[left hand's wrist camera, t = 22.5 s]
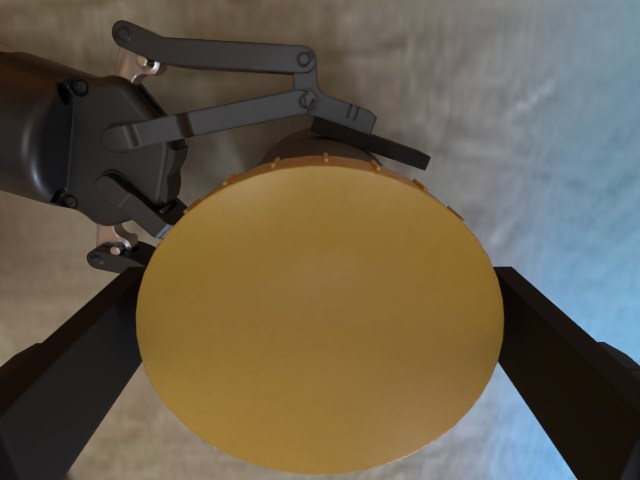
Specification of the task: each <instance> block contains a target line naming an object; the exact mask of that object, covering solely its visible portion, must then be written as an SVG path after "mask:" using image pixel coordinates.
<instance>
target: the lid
mask: <svg viewBox="0 0 640 480" xmlns="http://www.w3.org/2000/svg"><path fill="white" fill-rule="evenodd" d="M427 190H428V189H427V188H426V187H425V186H424V185H422V184H421V183H420V182H419V181H418V180H416V179H415V178H414V179H413V181H412V180H410V179H409V178H407V177H405V176H403V175H401V174H399V173H397V172H394V171H392V170H390V169H388V168H385V167H383V166H380V165H378V164H377V163H376V161H374V160H371V163H369V162H366V161H363V160H358V159H352V158H345V157H339V156H328V153H324V156H303V157H295V158H286V159H282V160H280V157H277V158H275V160H274V161H273V162H270V163H266V164H263V165H260V166H258V167H255V168H253V169H250V170H248V171H245V172H243V173H240V174H239V175H236V173H234V174H232V175H231V176H230V177H229V178H228V179H226V180H225V181H224V182H223V184H221V185H220V186H218V187H217V188H216V189H215V190H213V191H212V192H211V193H210V194H208V195H207V196H206V197H205V198H203V199H202V200H200V199H198V200H197V201H195V202H194V203H193V204H192V205H191V206H189V207H188V208H187V209H186V210H185V211H184V213H185V215H184V216H183V217H182V218H181V219H180V220H179V221H178V222H177V223H176V224H175V225H174V226H173V227H172V228H171V229H170V230H169V231H168V233H167V234H166V235H165V237H164V238H163V240H162V241H161V242H160V243H159V244H158V245H157V247H156V250H155V251H154V253H153V255H152V257H151V259H150V262H149V264H148V266H147V268H146V270H145V272H144V275H143V279H142V282H141V286H140V289H139V293H138V300H137V308H136V335H137V340H138V346H139V351H140V355H141V358H142V361H143V364H144V367H145V369H146V372H147V375H148V376H149V378H150V380H151V382H152V384H153V386H154V388H155V390H156V391H157V393H158V394H159V396H160V397H161V398H162V400H163V401H164V403H165V404H166V405H167V407H168V408H169V409H170V410H171V411H172V412H173V413H174V415H175V416H176V417H177V418H178V419H179V420H180V421H181V422H182V423H183V424H184V425H186V426H187V427H188V428H189V429H190V430H191V431H193V432H194V433H195V434H196V435H198V436H199V437H201V438H202V439H204V440H205V441H206V442H208V443H209V444H211V445H212V446H214V447H216V448H218V449H220V450H222V451H224V452H226V453H227V454H229V455H231V456H234V457H236V458H239V459H241V460H244V461H246V462H249V463H252V464H255V465H259V466H262V467H265V468H269V469H274V470H279V471H284V472H291V473H301V474H339V473H349V472H355V471H361V470H367V469H370V468H374V467H378V466H381V465H385V464H388V463H391V462H393V461H396V460H399V459H401V458H404V457H406V456H408V455H410V454H412V453H414V452H416V451H418V450H420V449H422V448H424V447H426V446H427V445H429V444H430V443H432V442H433V441H435V440H437V439H438V438H440V437H441V436H442V435H443V434H445V433H446V432H447V431H448V430H450V429H451V428H452V427H453V426H455V425H456V424H457V423H458V422H459V421H460V420H461V419H462V418H463V417H464V416H465V415H466V414H467V413H468V411H469V410H470V409H471V408H472V406H473V405H474V404H475V402H476V401H477V400H478V399H479V397H480V396H481V394H482V393H483V391H484V389H485V387H486V386H487V384H488V382H489V380H490V379H491V376H492V374H493V371H494V369H495V366H496V364H497V361H498V358H499V354H500V350H501V345H502V341H503V330H504V310H503V298H502V294H501V290H500V286H499V282H498V278H497V276H496V273H495V271H494V269H493V266H492V264H491V261H490V259H489V257H488V255H487V254H486V252H485V251H484V249H483V247H482V246H481V244H480V243H479V241H478V239H477V238H476V237H475V236H474V234H473V233H472V232H471V231H470V230H469V229H468V227H467V226H466V225H465V224H464V223H463V221H464V219H463V218H462V217H461V216H460V215H459V214H457V213H456V212H455V211H454V210H453V209H451V208H450V207H449V206H448V207H446V206H444V205H443V204H442V203H441V202H440V201H439V200H437V199H436V198H435V197H434V196H433V195H432V194H430V193H429V192H428V191H427Z"/></svg>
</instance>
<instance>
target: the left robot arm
mask: <svg viewBox="0 0 640 480" xmlns="http://www.w3.org/2000/svg"><path fill="white" fill-rule="evenodd" d="M146 268H147V267H128V268H126V269H125V270H124V271H123V272H122V273H121V274H120V275H119V276H117V277H116V278H115V279H114V280H113V281H112V282H111V283H109V284H108V285H107V286H106V287H105V288H104V289H103V290H101V291H100V292H99V293H98V294H97V295H96V296H95V297H94V298H92V299H91V300H90V301H89V302H88V303H87V304H86V305H84V306H83V307H82V308H81V309H80V310H79V311H78V312H77V313H75V314H74V315H73V316H72V317H71V318H70V319H69V320H67V321H66V322H65V323H64V324H63V325H62V326H61V327H59V328H58V329H57V330H56V331H55V332H54V333H53V334H52V335H50V336H49V337H48V338H47V339H46V340H45V341H44V342H42V343H36V344H34V345H32V346H31V347H29V348H27V349H25V350H23V351H22V352H20V353H18V354H16V355H14V356H13V357H12V358H11V359H10V360H8V361H7V362H6V363H5V364H4V365H3V366H1V367H0V480H62V479H63V478H64V476H65V475H66V474H67V472H68V471H69V469H70V468H71V466H72V465H73V463H74V462H75V460H76V459H77V457H78V456H79V454H80V453H81V451H82V450H83V448H84V447H85V445H86V444H87V442H88V441H89V439H90V438H91V436H92V435H93V434H94V432H95V431H96V429H97V428H98V426H99V425H100V423H101V422H102V420H103V419H104V417H105V416H106V414H107V413H108V411H109V410H110V408H111V407H112V405H113V404H114V402H115V401H116V399H117V398H118V397H119V395H120V394H121V392H122V391H123V389H124V388H125V386H126V385H127V383H128V382H129V380H130V379H131V377H132V376H133V374H134V373H135V371H136V370H137V368H138V367H139V365H140V364H141V362H142V358H141V355H140V351H139V346H138V340H137V335H136V308H137V300H138V293H139V289H140V286H141V282H142V279H143V275H144V272H145V270H146ZM493 269H494V271H495V273H496V276H497V278H498V282H499V286H500V290H501V294H502V298H503V310H504V330H503V341H502V345H501V350H500V354H499V358H498V362H499V364H500V365H501V367H502V368H503V370H504V371H505V373H506V374H507V376H508V377H509V379H510V380H511V382H512V383H513V385H514V386H515V388H516V389H517V391H518V392H519V394H520V395H521V397H522V398H523V399H524V401H525V402H526V404H527V405H528V407H529V408H530V410H531V411H532V413H533V414H534V416H535V417H536V419H537V420H538V422H539V423H540V425H541V426H542V428H543V429H544V431H545V432H546V434H547V435H548V436H549V438H550V439H551V441H552V442H553V444H554V445H555V447H556V448H557V450H558V451H559V453H560V454H561V456H562V457H563V459H564V460H565V462H566V463H567V465H568V466H569V468H570V469H571V471H572V472H573V474H574V475H575V476H576V478H577V479H578V480H640V365H638V364H637V363H636V362H635V361H634V360H632V359H631V358H630V357H629V356H628V355H626V354H625V353H623V352H621V351H619V350H618V349H616V348H614V347H612V346H610V345H609V344H607V343H605V342H596V341H595V340H594V339H593V338H592V337H591V336H590V335H588V334H587V333H586V332H585V331H584V330H583V329H582V328H581V327H579V326H578V325H577V324H576V323H575V322H574V321H573V320H571V319H570V318H569V317H568V316H567V315H566V314H565V313H563V312H562V311H561V310H560V309H559V308H558V307H557V306H556V305H554V304H553V303H552V302H551V301H550V300H549V299H548V298H546V297H545V296H544V295H543V294H542V293H541V292H540V291H538V290H537V289H536V288H535V287H534V286H533V285H532V284H531V283H529V282H528V281H527V280H526V279H525V278H524V277H523V276H521V275H520V274H519V273H518V272H517V271H516V270H515V269H514V268H512V267H493Z"/></svg>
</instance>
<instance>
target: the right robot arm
mask: <svg viewBox="0 0 640 480" xmlns="http://www.w3.org/2000/svg"><path fill="white" fill-rule="evenodd" d="M112 36H113V39H114V41H115V42H116V43H117V45H119V46H120V51H119V55H118V60H117V65H116V70H115V75H111V76H106V77H97V76H94V75H91V74H88V73H85V72H82V71H79V70H76V69H73V68H70V67H67V66H64V65H61V64H58V63H55V62H52V61H49V60H46V59H43V58H40V57H37V56H34V55H31V54H28V53H24V52H16V51H14V50H13V49H11V48H9V47H8V46H5V45H2V44H0V190H2V191H6V192H9V193H12V194H16V195H19V196H23V197H26V198H29V199H33V200H36V201H40V202H43V203H46V204H50V205H55V206H60V207H66V208H71V209H75V210H78V211H80V212H81V213H83V214H85V215H86V216H87V217H88V218H90V219H91V220H92V221H93V222H95V223H97V246H96V248H95V249H93V250H92V251H90V252H89V253H88V254H87V261H88V263H89V264H90V265H91V266H92V267H94V268H96V269H101V270H106V271H110V272H115V273H120V274H121V273H122V272H123V271H124V270H125V269H126V268H128V267H147V266H148V264H149V262H150V259H151V257H152V255H153V253H154V251H155V250H156V247H154V246H152V245H149V244H147V243H144V242H141V241H138V236H137V235H136V234H135V233H129V232H127V231H126V230H125V229H124V228H123V226H122V223H123V222H126V221H130V220H134V221H135V222H136V223H137V224H139V225H140V226H141V227H142V228H143V229H144V230H146V231H147V232H148V233H149V234H150V235H152V236H153V237H155V238H159V239H163V238H164V237H165V235H166V234H167V233H168V231H169V230H170V229H171V228H172V227H173V226H174V225H175V224H176V223H177V222H178V221H179V220H180V219H181V218H182V217H183V216H184V215H185V213H184V211H185V210H186V209H187V206H186V205H185V204H184V203H183V202H182V201H181V200H179V199H178V198H177V197H176V196H178V195H179V191H180V186H181V176H180V169H181V167H182V165H183V163H184V161H185V159H186V155H187V150H188V146H187V145H185V141H184V138H188V137H192V136H197V135H202V134H207V133H212V132H217V131H222V130H227V129H232V128H237V127H242V126H247V125H252V124H257V123H262V122H267V121H272V120H277V119H282V118H287V117H293V116H298V115H303V114H308V115H311V116H314V117H315V118H314V121H313V124H312V127H311V132H314V133H317V134H320V135H323V136H326V137H329V138H332V139H335V140H338V141H341V142H343V143H346V144H349V145H352V146H355V147H358V148H361V149H364V150H367V151H370V152H373V153H375V154H378V155H381V156H384V157H387V158H390V159H393V160H396V161H399V162H402V163H405V164H407V165H410V166H413V167H416V168H419V169H422V170H426V167H427V165H428V163H429V161H430V158H431V157H430V156H428V155H426V154H424V153H422V152H420V151H418V150H416V149H413V148H410V147H407V146H404V145H401V144H399V143H396V142H393V141H390V140H387V139H384V138H381V137H378V136H376V135H373V134H371V132H372V129H373V126H374V124H375V121H376V118H377V117H376V116H375V115H373V114H372V113H371V112H370V111H369V110H366V109H363V108H361V107H358V106H355V105H352V104H349V103H347V102H344V101H341V100H338V99H335V98H333V97H330V96H327V95H325V94H324V93H323V92H321V90H320V89H319V87H318V84H317V62H316V55H315V53H314V51H313V50H312V49H311V48H310V47H307V46H300V45H284V44H267V43H251V42H235V41H218V40H202V39H186V38H169V37H163V36H161V35H159V34H157V33H155V32H152V31H150V30H148V29H145V28H143V27H140V26H138V25H135V24H133V23H130V22H128V21H124V20H121V21H117V22H116V23H115V24H114V25H113V28H112ZM167 65H171V66H176V67H180V68H187V69H201V70H217V71H234V72H251V73H268V74H285V75H293V81H294V91H289V92H284V93H279V94H274V95H269V96H265V97H260V98H255V99H250V100H245V101H240V102H235V103H230V104H225V105H220V106H215V107H211V108H206V109H201V110H196V111H191V112H186V113H180V114H175V115H170V116H168V115H167V114H166V113H165V111H164V110H163V109H162V108H161V107H160V105H159V104H158V103H157V102H156V101H155V99H154V98H153V97H152V96H151V94H150V93H149V92H148V91H147V90H146V88H145V87H144V86H143V85H142V84H141V83H142V80H143V79H144V78H145V77H146V76H149V75H153V76H161V75H162V74H164V73H165V71H166V69H167ZM160 210H161V211H162V212H163V213H164V214H163V213H161V212H160Z"/></svg>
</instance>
